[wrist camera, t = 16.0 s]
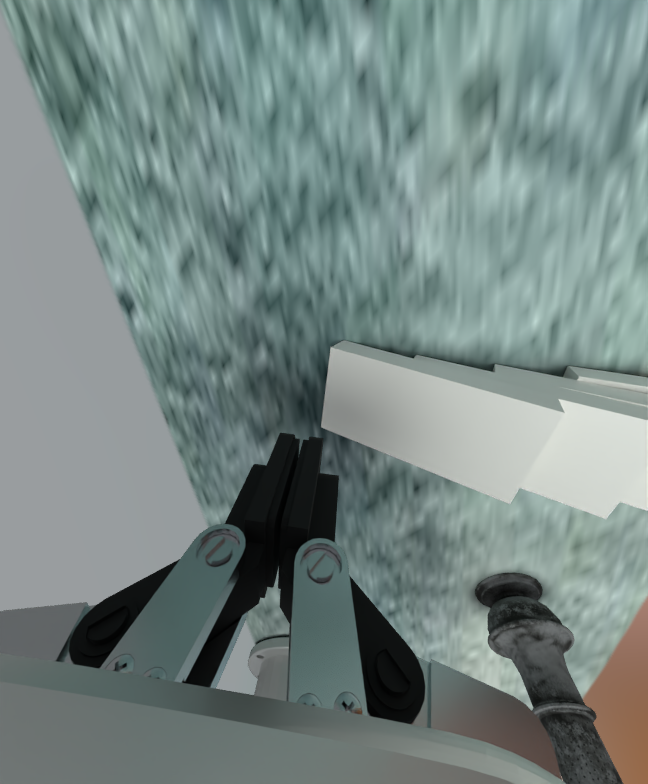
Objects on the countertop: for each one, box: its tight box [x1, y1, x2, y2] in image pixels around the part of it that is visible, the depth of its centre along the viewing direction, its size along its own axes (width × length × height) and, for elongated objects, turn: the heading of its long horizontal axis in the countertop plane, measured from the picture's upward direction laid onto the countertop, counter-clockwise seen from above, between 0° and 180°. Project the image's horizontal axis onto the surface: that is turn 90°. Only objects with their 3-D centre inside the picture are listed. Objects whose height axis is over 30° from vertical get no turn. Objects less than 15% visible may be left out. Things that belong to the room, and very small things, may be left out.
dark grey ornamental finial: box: [475, 573, 623, 784], centre depth 19 cm, size 6×6×12 cm
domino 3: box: [492, 364, 648, 511], centre depth 14 cm, size 5×2×10 cm
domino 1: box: [321, 340, 565, 504], centre depth 14 cm, size 5×2×10 cm
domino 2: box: [414, 355, 648, 519], centre depth 14 cm, size 5×2×10 cm
